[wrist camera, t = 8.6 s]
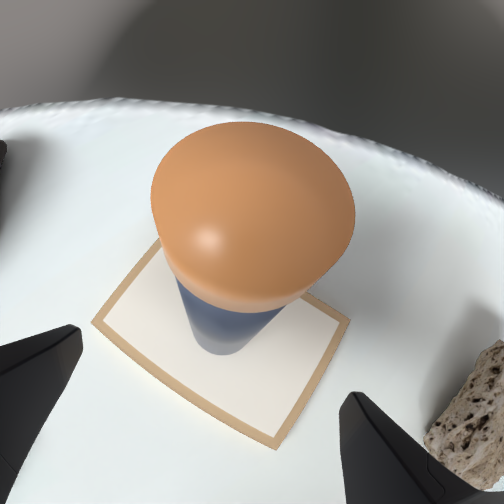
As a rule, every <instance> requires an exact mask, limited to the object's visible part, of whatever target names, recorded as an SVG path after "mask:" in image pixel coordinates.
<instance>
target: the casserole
mask: <svg viewBox="0 0 504 504" xmlns="http://www.w3.org/2000/svg"><path fill="white" fill-rule="evenodd" d="M6 152H7V144H6V143H5V142H4V141H3V140H0V168H1V165H2V162H3V159H4V157H5V154H6Z"/></svg>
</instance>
